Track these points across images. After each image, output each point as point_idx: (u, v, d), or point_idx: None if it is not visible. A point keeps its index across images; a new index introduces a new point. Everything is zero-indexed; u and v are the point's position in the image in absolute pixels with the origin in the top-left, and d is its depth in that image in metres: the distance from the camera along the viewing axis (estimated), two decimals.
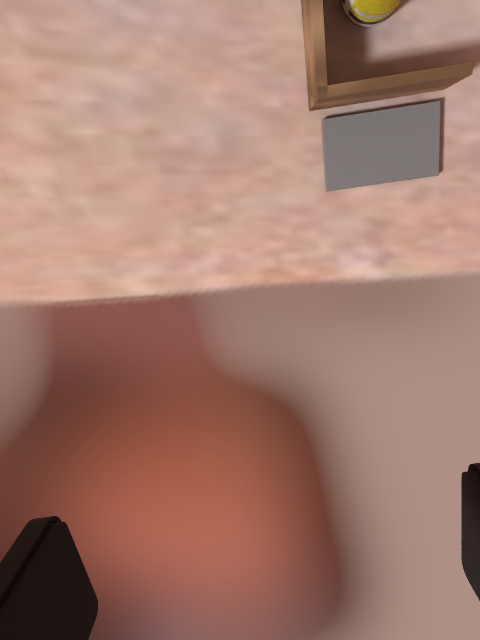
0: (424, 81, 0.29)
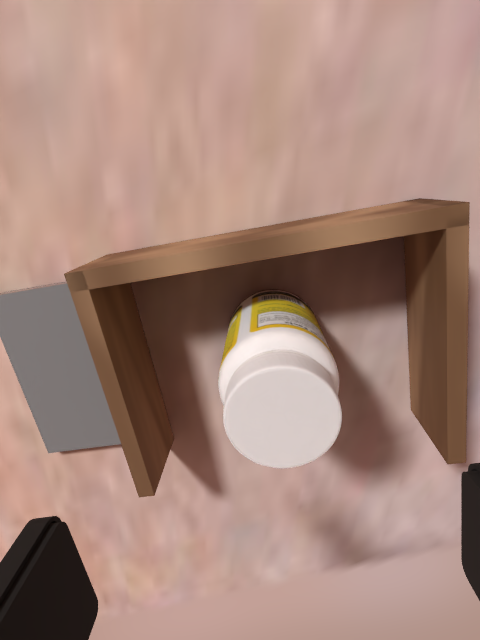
0: (121, 438, 0.18)
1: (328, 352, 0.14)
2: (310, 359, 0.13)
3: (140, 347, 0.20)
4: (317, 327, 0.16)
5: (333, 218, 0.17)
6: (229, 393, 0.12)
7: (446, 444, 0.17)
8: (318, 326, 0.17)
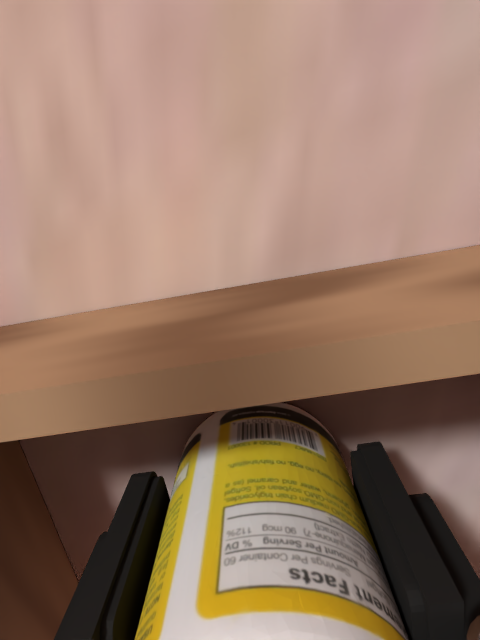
0: None
1: None
2: None
3: (14, 505, 0.11)
4: (359, 530, 0.07)
5: (390, 281, 0.08)
6: None
7: None
8: (357, 512, 0.08)
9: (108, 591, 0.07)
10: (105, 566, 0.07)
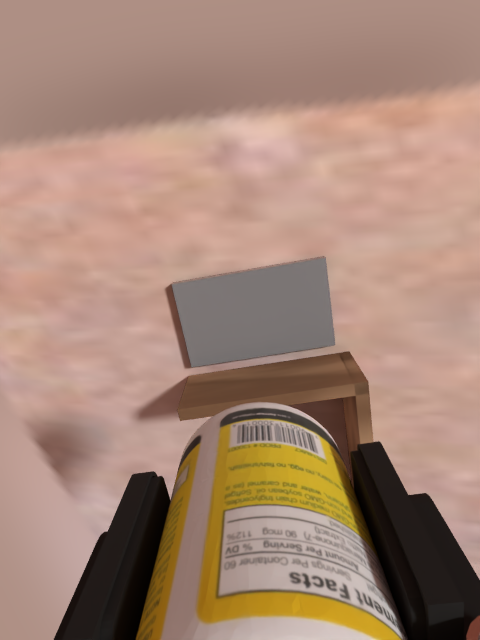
0: (233, 401, 0.23)
1: None
2: None
3: None
4: (360, 533, 0.07)
5: None
6: None
7: None
8: (358, 515, 0.08)
9: (108, 591, 0.07)
10: (105, 566, 0.07)
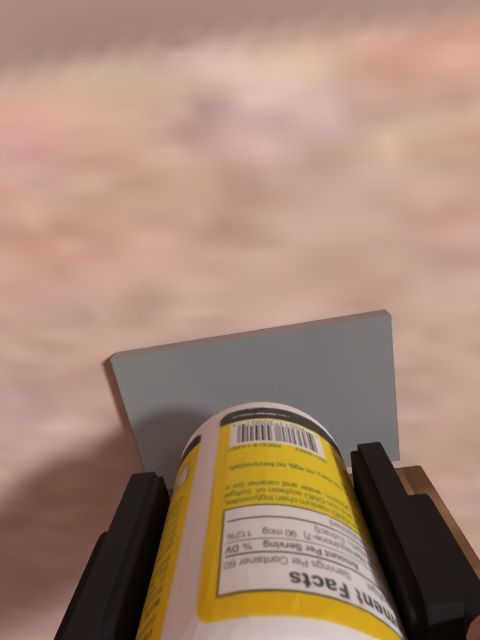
0: None
1: None
2: None
3: None
4: (360, 532, 0.07)
5: None
6: None
7: None
8: (358, 515, 0.08)
9: (108, 592, 0.07)
10: (105, 566, 0.07)
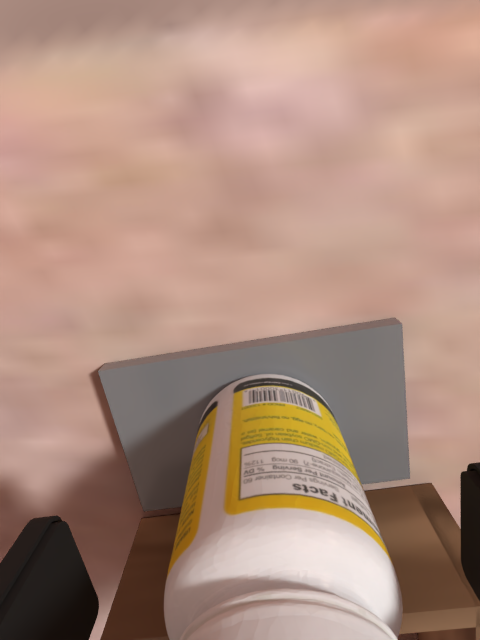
0: None
1: (383, 558, 0.07)
2: (358, 621, 0.06)
3: None
4: (348, 467, 0.09)
5: None
6: None
7: None
8: (347, 457, 0.10)
9: None
10: None
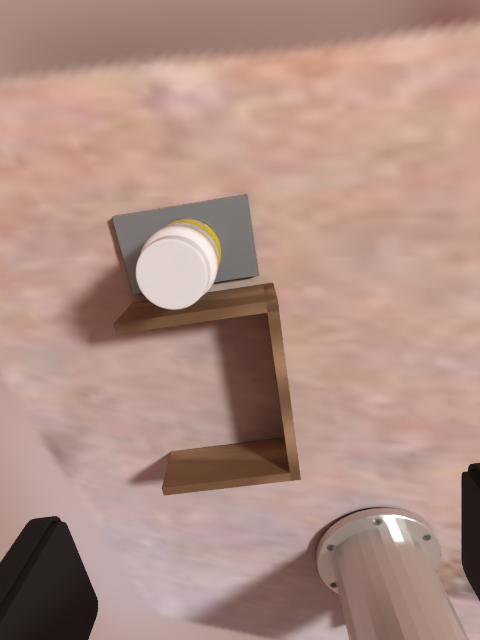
0: (162, 316, 0.26)
1: (208, 242, 0.22)
2: (190, 240, 0.21)
3: None
4: (209, 234, 0.24)
5: None
6: (138, 258, 0.20)
7: (173, 486, 0.32)
8: (212, 236, 0.25)
9: None
10: None
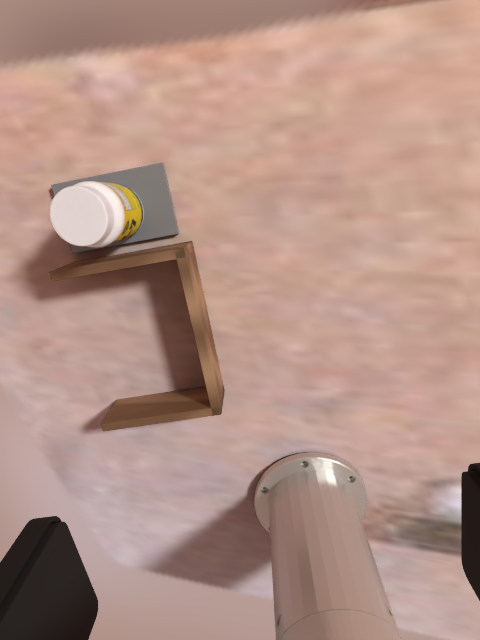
0: (89, 265, 0.31)
1: (114, 194, 0.27)
2: (95, 189, 0.26)
3: None
4: (122, 192, 0.29)
5: (214, 360, 0.36)
6: (51, 203, 0.26)
7: (111, 422, 0.36)
8: (127, 194, 0.30)
9: None
10: None
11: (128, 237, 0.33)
